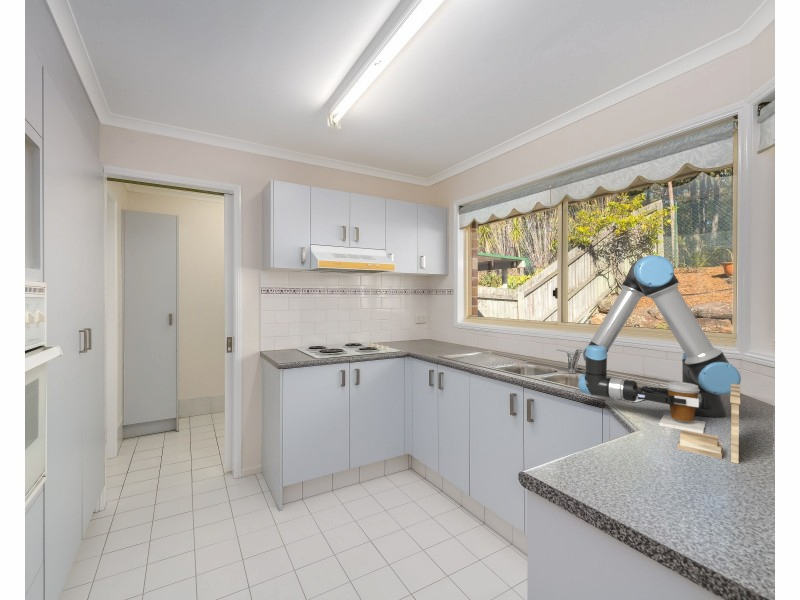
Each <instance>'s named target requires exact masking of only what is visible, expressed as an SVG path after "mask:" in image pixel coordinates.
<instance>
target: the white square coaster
mask: <svg viewBox="0 0 800 600" xmlns="http://www.w3.org/2000/svg"><path fill="white" fill-rule="evenodd" d="M658 423H659V424H658V426H659V427H666V428H671V429H676V430H681V431H682V430H686V431H692V432H697V433H702V434H705V429H704V428H706V421H702V420H696V419H694V421H680V420H676V419H673V418H672V417H671V415H665V414H664V415H663V416H662V417H661V419H660V421H659V422H658Z"/></svg>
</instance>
